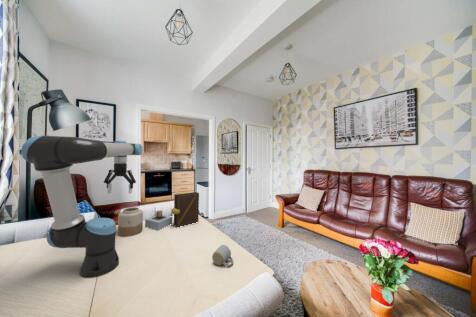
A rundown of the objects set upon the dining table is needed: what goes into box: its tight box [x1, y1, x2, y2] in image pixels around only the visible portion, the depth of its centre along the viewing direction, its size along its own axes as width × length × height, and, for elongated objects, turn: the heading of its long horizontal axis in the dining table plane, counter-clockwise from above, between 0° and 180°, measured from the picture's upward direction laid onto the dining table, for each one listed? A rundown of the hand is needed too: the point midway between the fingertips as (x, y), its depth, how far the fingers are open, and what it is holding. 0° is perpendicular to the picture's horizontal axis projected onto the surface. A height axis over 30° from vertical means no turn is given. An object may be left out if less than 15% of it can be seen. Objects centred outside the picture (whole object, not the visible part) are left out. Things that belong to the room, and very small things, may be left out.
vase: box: [117, 206, 144, 238], centre depth 129 cm, size 15×15×17 cm
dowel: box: [155, 210, 163, 219], centre depth 142 cm, size 4×4×6 cm
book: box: [171, 191, 200, 228], centre depth 146 cm, size 22×8×25 cm, turn 130°
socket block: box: [144, 214, 173, 231], centre depth 142 cm, size 14×14×7 cm
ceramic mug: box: [211, 244, 234, 268], centre depth 95 cm, size 11×8×8 cm
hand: (119, 193), depth 125 cm, fingers open, 13 cm apart
